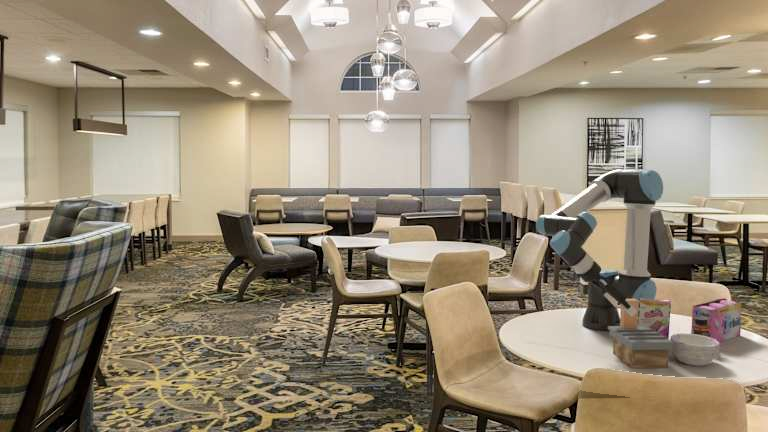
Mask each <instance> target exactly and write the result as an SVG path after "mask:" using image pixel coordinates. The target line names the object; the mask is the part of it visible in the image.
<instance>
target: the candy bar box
mask: <svg viewBox="0 0 768 432" xmlns="http://www.w3.org/2000/svg"><path fill="white" fill-rule="evenodd" d="M638 301H639V302H638V326H647V327H649V328H650V329H654V331H656V332H657V333H660V334H661V335H662V336H664V337H667V338H668V339H669V338H670V325H671V324H670V322H671V321H670V319H671V307H672V306H671V304H672V303H671V300H669V299H656V298H654V299H647V298H638ZM669 340H670V339H669Z"/></svg>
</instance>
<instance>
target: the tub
mask: <svg viewBox="0 0 768 432" xmlns="http://www.w3.org/2000/svg"><path fill="white" fill-rule="evenodd" d="M612 345H613V346H612V354H613V355H615V356H616V357H617V358H619V359H620V360H621V361H623V363H625V364H627V365H628V366H629V367H630V368H632V369H666V368H667V369H668V367H669V354H670V353H669V351H670V350H631V349H630V348H628V347H627V346H625V345H624V344H622V343H621V342H620V341H618V340H617V339H615V338H614V337H613V342H612Z"/></svg>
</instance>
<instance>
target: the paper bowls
mask: <svg viewBox="0 0 768 432" xmlns="http://www.w3.org/2000/svg"><path fill="white" fill-rule="evenodd" d="M669 338H670V339H669V340H671V341H673V342H674V345H673V349H672V350H669V351H670V352H671V353H672V354H674V355H675V357H676V359H677V360H678V361H679V362H681V363H683V364H686V365H690V366H699V367H700V366H701V367H703V366H707V365H710V364H711V363H712V362H713V361H714V360H716V359H718V358H719V356H720V345H721V342H718V341H717V340H715V339H713V338H710V337H706V336H702V335H696V334H691V333H686V332H685V333H683V332H682V333H674V334H671V335H670V337H669Z"/></svg>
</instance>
